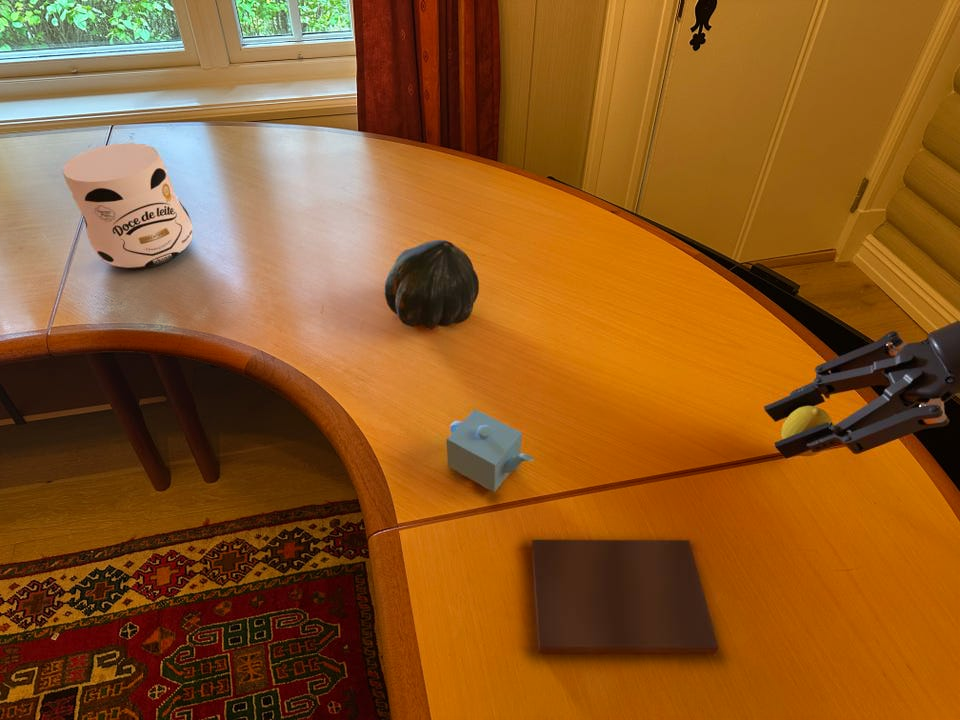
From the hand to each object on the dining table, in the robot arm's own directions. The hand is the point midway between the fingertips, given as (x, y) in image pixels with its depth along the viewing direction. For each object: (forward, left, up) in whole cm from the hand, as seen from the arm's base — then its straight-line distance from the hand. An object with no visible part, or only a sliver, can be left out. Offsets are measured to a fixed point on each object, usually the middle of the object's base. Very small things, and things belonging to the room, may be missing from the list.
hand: (775, 431), depth 78 cm
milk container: (+106, +36, -4) cm, 112 cm away
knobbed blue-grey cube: (+24, +28, -4) cm, 37 cm away
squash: (+53, +11, -4) cm, 54 cm away
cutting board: (+3, +30, -4) cm, 31 cm away
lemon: (-3, -2, -4) cm, 5 cm away
